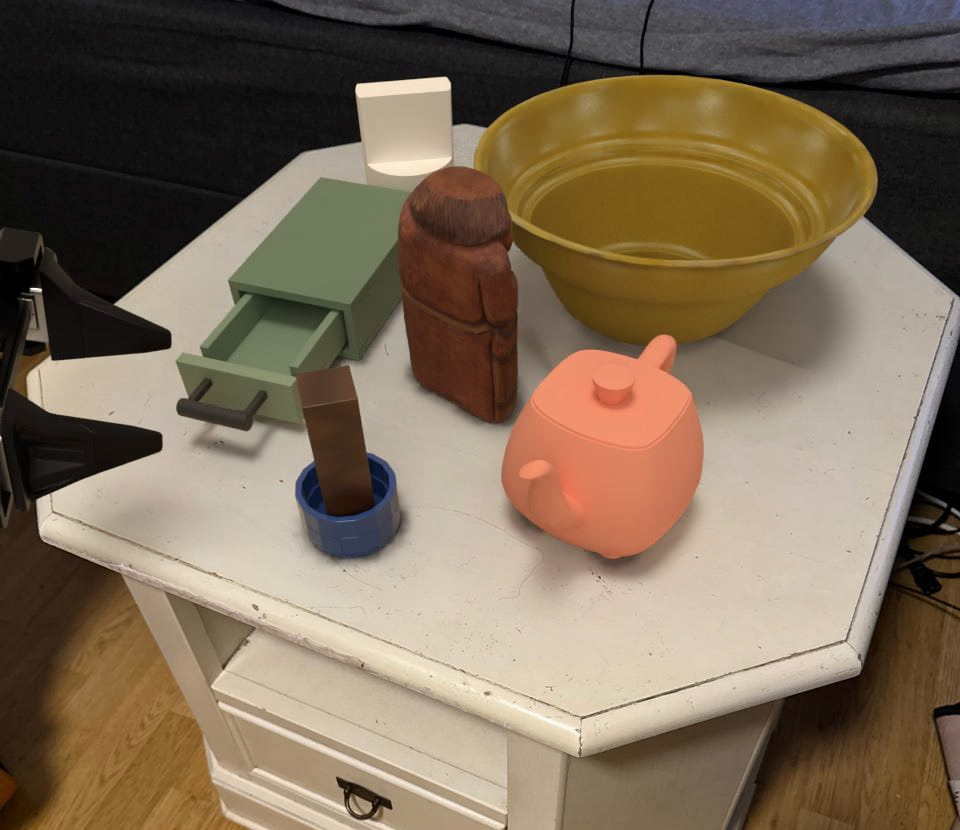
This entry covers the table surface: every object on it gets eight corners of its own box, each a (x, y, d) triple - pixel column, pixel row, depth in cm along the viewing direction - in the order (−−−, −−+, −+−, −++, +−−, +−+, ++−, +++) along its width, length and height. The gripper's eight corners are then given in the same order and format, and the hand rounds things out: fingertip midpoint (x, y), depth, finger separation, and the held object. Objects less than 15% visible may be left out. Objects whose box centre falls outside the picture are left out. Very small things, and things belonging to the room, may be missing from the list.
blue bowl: (304, 563, 62) (293, 525, 59) (306, 493, 67) (296, 454, 63) (403, 555, 63) (398, 516, 59) (398, 485, 67) (393, 446, 64)
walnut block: (332, 539, 63) (302, 408, 53) (325, 505, 65) (295, 373, 55) (379, 530, 63) (357, 398, 54) (371, 497, 65) (349, 364, 56)
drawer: (276, 458, 68) (266, 420, 64) (162, 430, 70) (146, 392, 67) (384, 304, 79) (379, 266, 76) (283, 285, 81) (274, 246, 78)
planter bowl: (523, 196, 92) (526, 54, 81) (832, 235, 87) (881, 88, 76) (433, 381, 74) (421, 231, 63) (816, 445, 69) (876, 293, 58)
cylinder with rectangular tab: (450, 187, 93) (445, 63, 84) (461, 231, 88) (456, 104, 78) (368, 195, 93) (352, 70, 83) (373, 239, 87) (358, 112, 78)
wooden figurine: (543, 396, 73) (555, 181, 58) (494, 435, 70) (493, 219, 55) (441, 341, 77) (428, 129, 63) (392, 376, 75) (366, 162, 60)
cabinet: (359, 361, 76) (350, 304, 71) (243, 336, 78) (227, 280, 74) (434, 250, 86) (430, 195, 82) (329, 232, 88) (320, 176, 84)
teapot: (443, 560, 62) (432, 429, 52) (581, 408, 72) (594, 273, 62) (604, 642, 58) (626, 516, 48) (729, 468, 67) (768, 333, 57)
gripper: (-283, 320, 33) (152, 372, 38) (-152, 104, 44) (174, 166, 48) (-187, 523, 41) (158, 545, 46) (-97, 301, 52) (175, 337, 57)
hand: (167, 388), depth 49 cm, fingers open, 9 cm apart
